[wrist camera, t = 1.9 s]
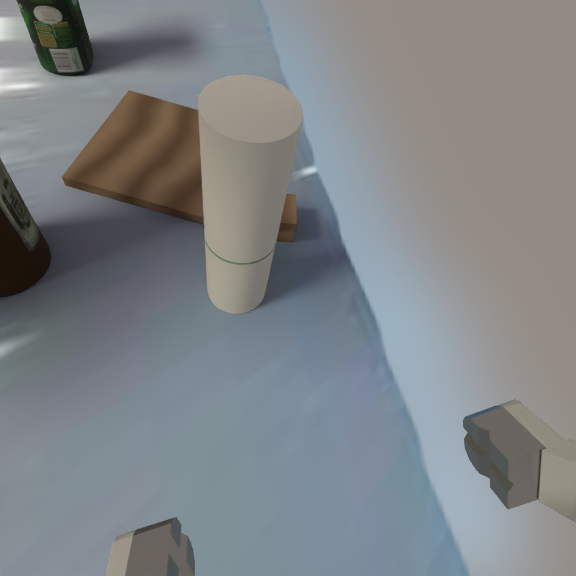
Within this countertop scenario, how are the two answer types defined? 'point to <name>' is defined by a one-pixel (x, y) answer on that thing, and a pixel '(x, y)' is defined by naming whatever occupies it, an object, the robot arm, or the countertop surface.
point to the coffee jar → (58, 34)
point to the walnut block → (288, 220)
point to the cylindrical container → (244, 182)
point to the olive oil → (18, 241)
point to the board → (145, 158)
